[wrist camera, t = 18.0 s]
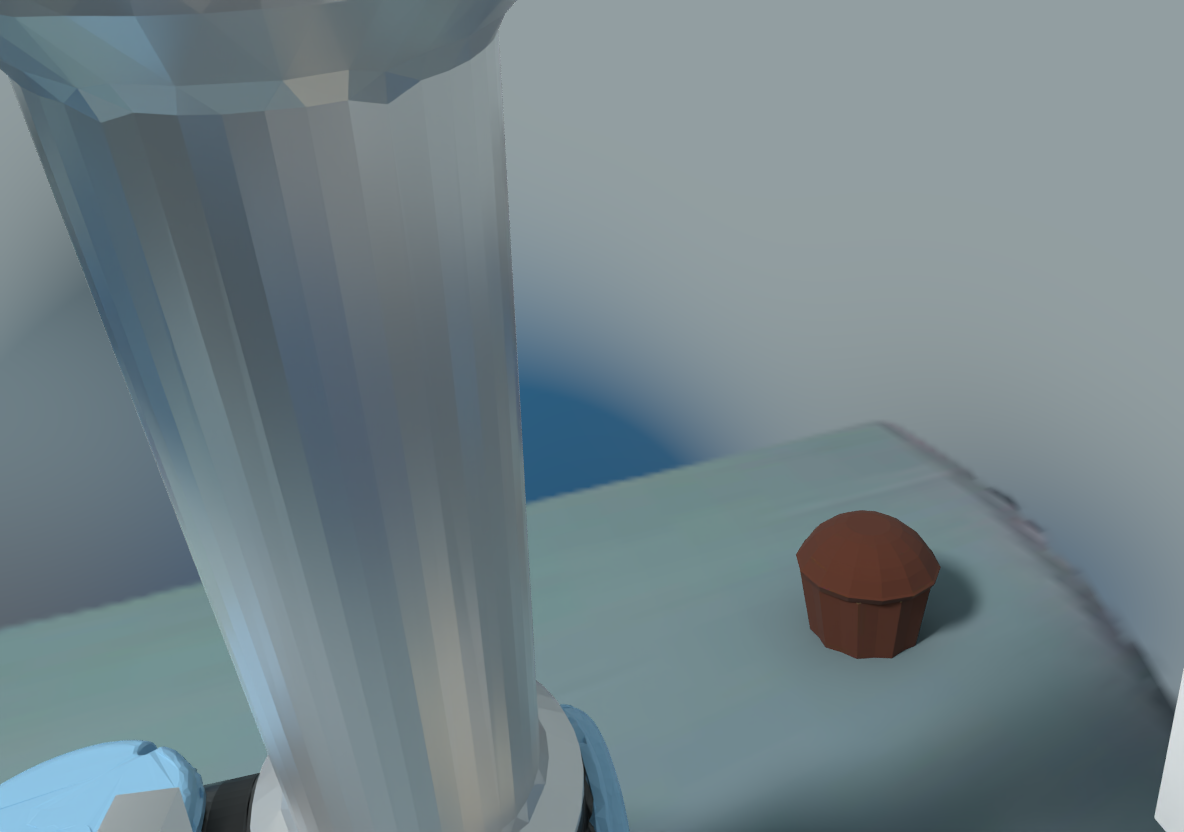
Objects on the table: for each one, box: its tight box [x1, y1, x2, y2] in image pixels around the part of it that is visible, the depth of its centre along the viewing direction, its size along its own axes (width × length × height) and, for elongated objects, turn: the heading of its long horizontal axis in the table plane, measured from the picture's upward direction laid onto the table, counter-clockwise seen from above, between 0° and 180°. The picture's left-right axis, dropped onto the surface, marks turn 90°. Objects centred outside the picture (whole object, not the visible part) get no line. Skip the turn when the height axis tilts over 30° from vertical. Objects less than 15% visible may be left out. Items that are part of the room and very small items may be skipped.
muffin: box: [796, 510, 940, 659], centre depth 77 cm, size 12×11×10 cm
